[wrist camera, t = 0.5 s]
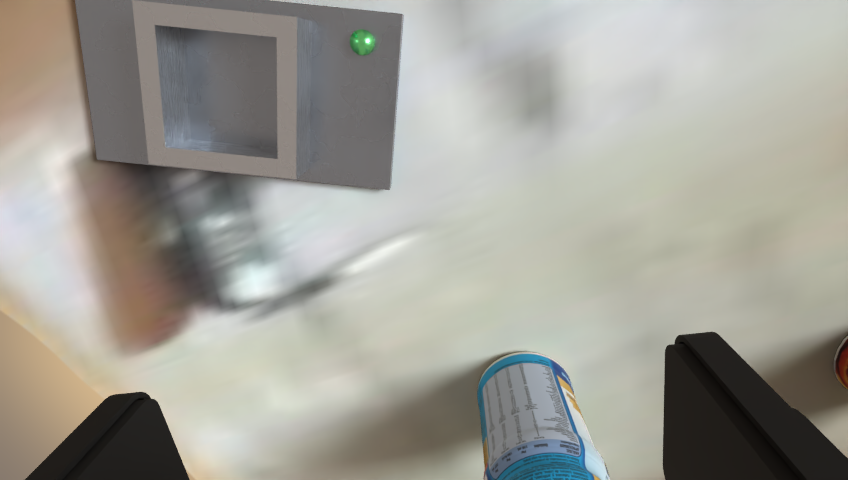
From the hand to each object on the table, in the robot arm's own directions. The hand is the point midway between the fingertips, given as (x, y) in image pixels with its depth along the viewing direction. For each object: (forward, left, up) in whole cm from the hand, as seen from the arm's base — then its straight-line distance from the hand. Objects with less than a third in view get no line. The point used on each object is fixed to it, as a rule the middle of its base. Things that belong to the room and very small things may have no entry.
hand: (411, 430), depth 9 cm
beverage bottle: (+20, +10, -29) cm, 37 cm away
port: (-3, -14, -29) cm, 33 cm away
